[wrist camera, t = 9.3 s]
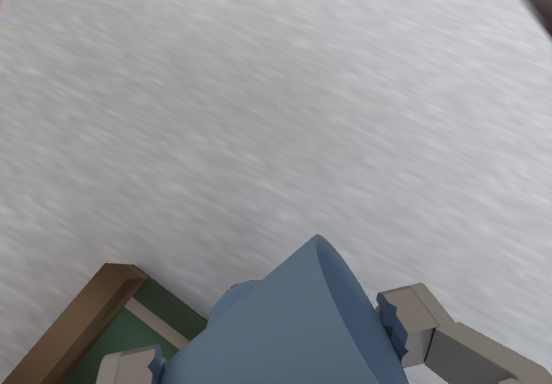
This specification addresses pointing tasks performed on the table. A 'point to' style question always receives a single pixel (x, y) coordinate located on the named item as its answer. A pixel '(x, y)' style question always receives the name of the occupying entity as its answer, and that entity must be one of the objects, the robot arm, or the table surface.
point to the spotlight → (292, 330)
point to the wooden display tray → (108, 327)
